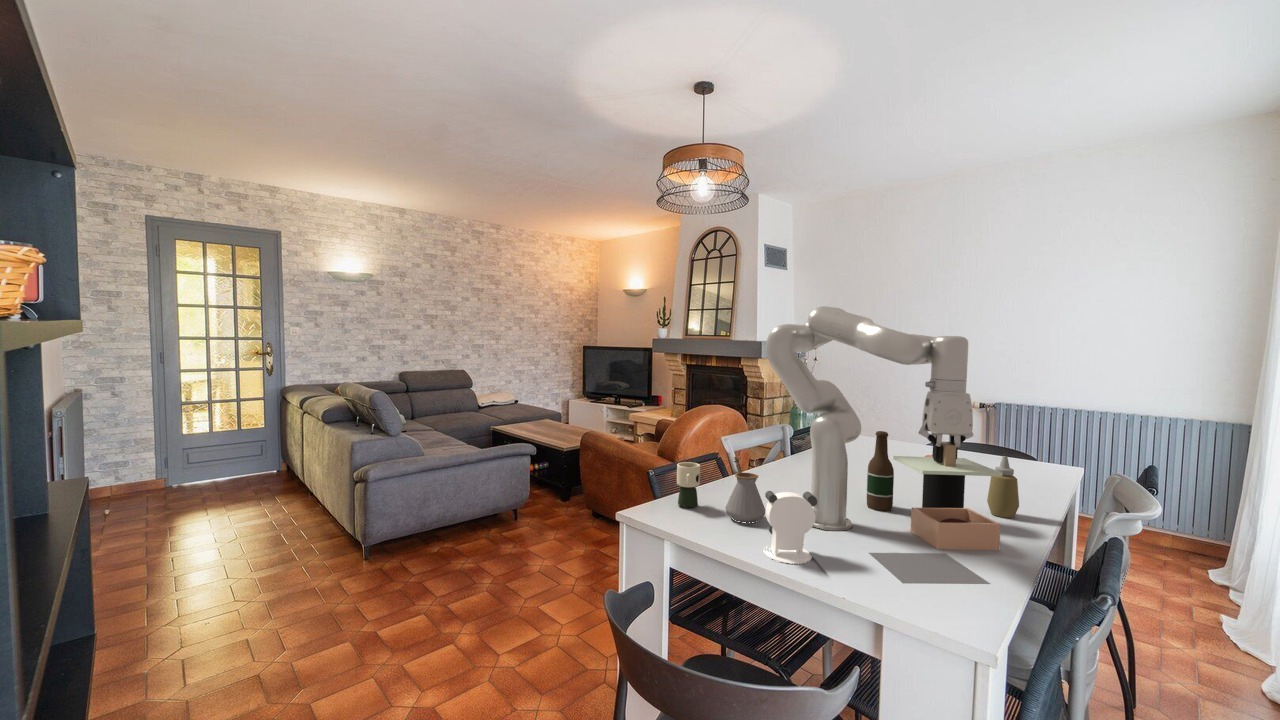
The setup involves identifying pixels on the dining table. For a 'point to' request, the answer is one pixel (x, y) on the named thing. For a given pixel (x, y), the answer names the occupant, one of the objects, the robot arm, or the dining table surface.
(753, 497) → the coffee pot
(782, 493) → the panda figurine
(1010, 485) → the squeeze bottle
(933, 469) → the lid
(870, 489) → the beer bottle
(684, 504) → the character mug
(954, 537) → the wooden cubby box
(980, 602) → the dining table surface
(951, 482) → the coffee jar
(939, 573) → the mat
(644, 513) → the dining table surface
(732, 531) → the dining table surface
